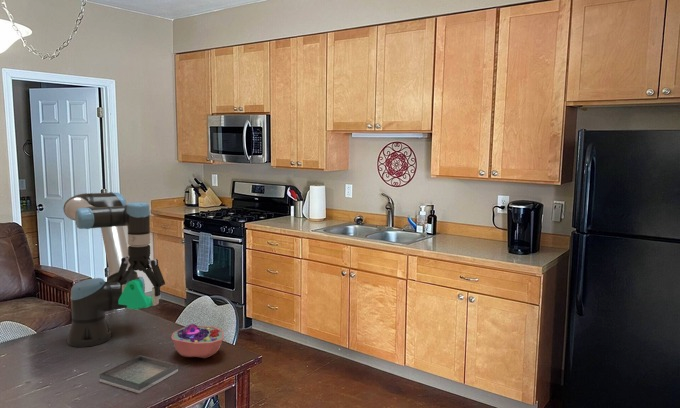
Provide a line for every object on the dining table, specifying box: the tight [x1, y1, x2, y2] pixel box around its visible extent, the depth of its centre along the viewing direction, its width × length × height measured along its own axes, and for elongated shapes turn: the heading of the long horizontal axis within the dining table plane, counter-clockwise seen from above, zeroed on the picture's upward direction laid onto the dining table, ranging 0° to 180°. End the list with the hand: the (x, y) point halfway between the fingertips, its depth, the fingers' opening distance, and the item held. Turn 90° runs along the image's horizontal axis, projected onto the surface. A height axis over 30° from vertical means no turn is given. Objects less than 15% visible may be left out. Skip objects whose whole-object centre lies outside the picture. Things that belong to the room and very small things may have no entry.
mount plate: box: [99, 354, 179, 395], centre depth 164 cm, size 17×17×2 cm
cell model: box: [170, 323, 224, 359], centre depth 181 cm, size 17×20×11 cm
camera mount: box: [118, 279, 153, 311], centre depth 181 cm, size 12×8×10 cm, turn 73°
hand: (140, 302), depth 182 cm, fingers closed on camera mount, 12 cm apart
